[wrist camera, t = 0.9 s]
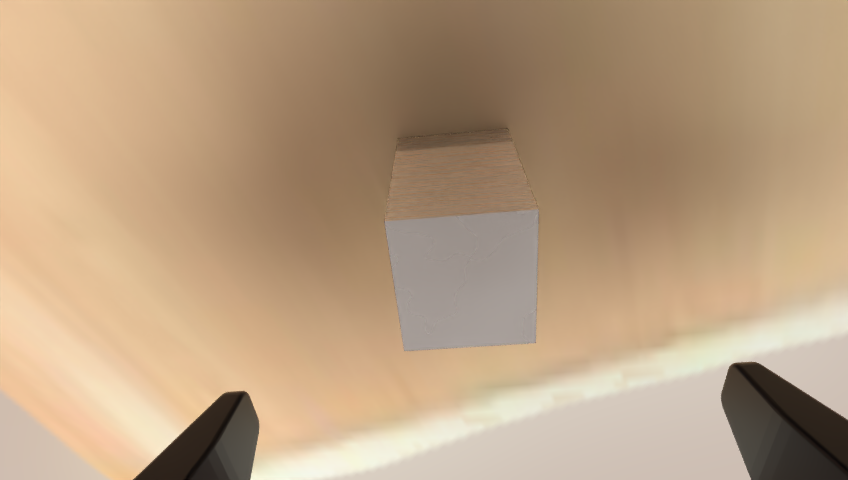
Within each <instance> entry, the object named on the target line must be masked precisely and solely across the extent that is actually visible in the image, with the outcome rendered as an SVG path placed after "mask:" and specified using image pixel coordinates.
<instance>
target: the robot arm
mask: <svg viewBox="0 0 848 480" xmlns="http://www.w3.org/2000/svg"><path fill="white" fill-rule="evenodd" d="M721 401H722V406H723V409H724V412H725V414H726V417H727V419H728V422H729V424H730V427H731V429H732V432H733V435H734V437H735V439H736V442H737V445H738V447H739V450H740V452H741V455H742V457H743V460H744V463H745V465H746V467H747V470H748V473H749V475H750V477H751V480H848V420H847V419H846V418H844V417H843V416H841V415H839V414H838V413H836V412H835V411H833V410H831V409H830V408H828V407H827V406H825V405H823V404H822V403H821V402H819V401H817V400H816V399H814V398H813V397H811V396H810V395H808V394H806V393H805V392H803V391H802V390H800V389H799V388H797V387H795V386H794V385H792V384H791V383H789V382H788V381H786V380H784V379H783V378H781V377H780V376H778V375H777V374H775V373H773V372H772V371H770V370H769V369H767V368H766V367H764V366H762V365H761V364H759V363H756V362H741V363H733V364H732V365H731V366H730V367H729V369H728V373H727V376H726V380H725V383H724V387H723V390H722V394H721ZM258 434H259V420H258V417H257V414H256V411H255V409H254V406H253V404H252V401H251V399H250V396H249V394H248V393H247V392H245V391H235V392H226V393H224V394H222V395H221V396H220V397H219V398H218V399H217V400H216V401H215V402H214V403H213V404H212V405H211V406H210V407H209V408H208V409H207V410H206V411H204V412H203V413H202V414H201V415H200V416H199V417H198V418H197V419H196V420H195V421H194V422H193V423H192V424H191V425H190V426H189V427H188V428H187V429H186V430H185V431H184V432H182V433H181V434H180V435H179V436H178V437H177V438H176V439H175V440H174V441H173V442H172V443H171V444H170V445H169V446H168V447H167V448H166V449H165V450H164V451H163V452H162V453H161V454H159V455H158V456H157V457H156V458H155V459H154V460H153V461H152V462H151V463H150V464H149V465H148V466H147V467H146V468H145V469H144V470H143V471H142V472H141V473H140V474H139V475H138V476H136V477H135V478H134V479H133V480H250V478H251V472H252V467H253V461H254V456H255V450H256V445H257V439H258Z"/></svg>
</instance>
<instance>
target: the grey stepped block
mask: <svg viewBox="0 0 848 480" xmlns="http://www.w3.org/2000/svg"><path fill="white" fill-rule="evenodd" d="M384 223H385V229H386V236H387V242H388V249H389V255H390V261H391V268H392V274H393V281H394V287H395V294H396V300H397V307H398V313H399V320H400V326H401V333H402V339H403V346H404V351H414V350H430V349H446V348H463V347H479V346H495V345H511V344H528V343H536V309H537V267H538V224H539V209H538V206H537V203H536V201H535V198H534V196H533V193H532V190H531V188H530V185H529V182H528V180H527V177H526V175H525V172H524V169H523V167H522V164H521V162H520V159H519V156H518V154H517V151H516V149H515V146H514V143H513V141H512V138H511V135H510V133H509V130H508V129H497V130H486V131H474V132H463V133H451V134H440V135H429V136H417V137H406V138H398V140H397V147H396V153H395V159H394V165H393V171H392V177H391V183H390V190H389V196H388V202H387V208H386V214H385V220H384Z"/></svg>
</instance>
